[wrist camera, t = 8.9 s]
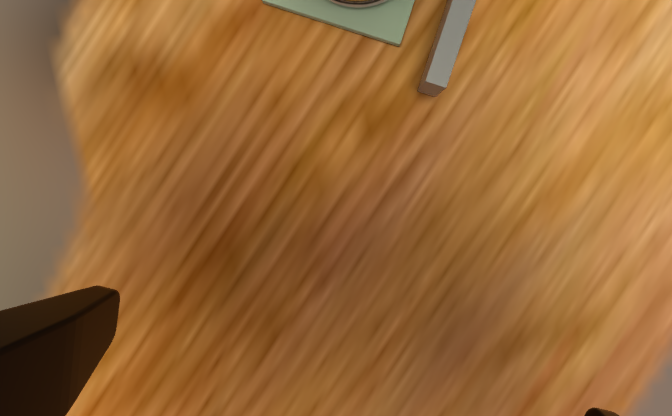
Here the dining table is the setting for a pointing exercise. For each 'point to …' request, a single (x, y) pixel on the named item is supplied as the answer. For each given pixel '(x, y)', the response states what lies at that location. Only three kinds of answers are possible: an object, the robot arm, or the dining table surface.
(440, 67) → the acrylic wall
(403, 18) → the coaster
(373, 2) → the supplement bottle
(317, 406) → the dining table surface
